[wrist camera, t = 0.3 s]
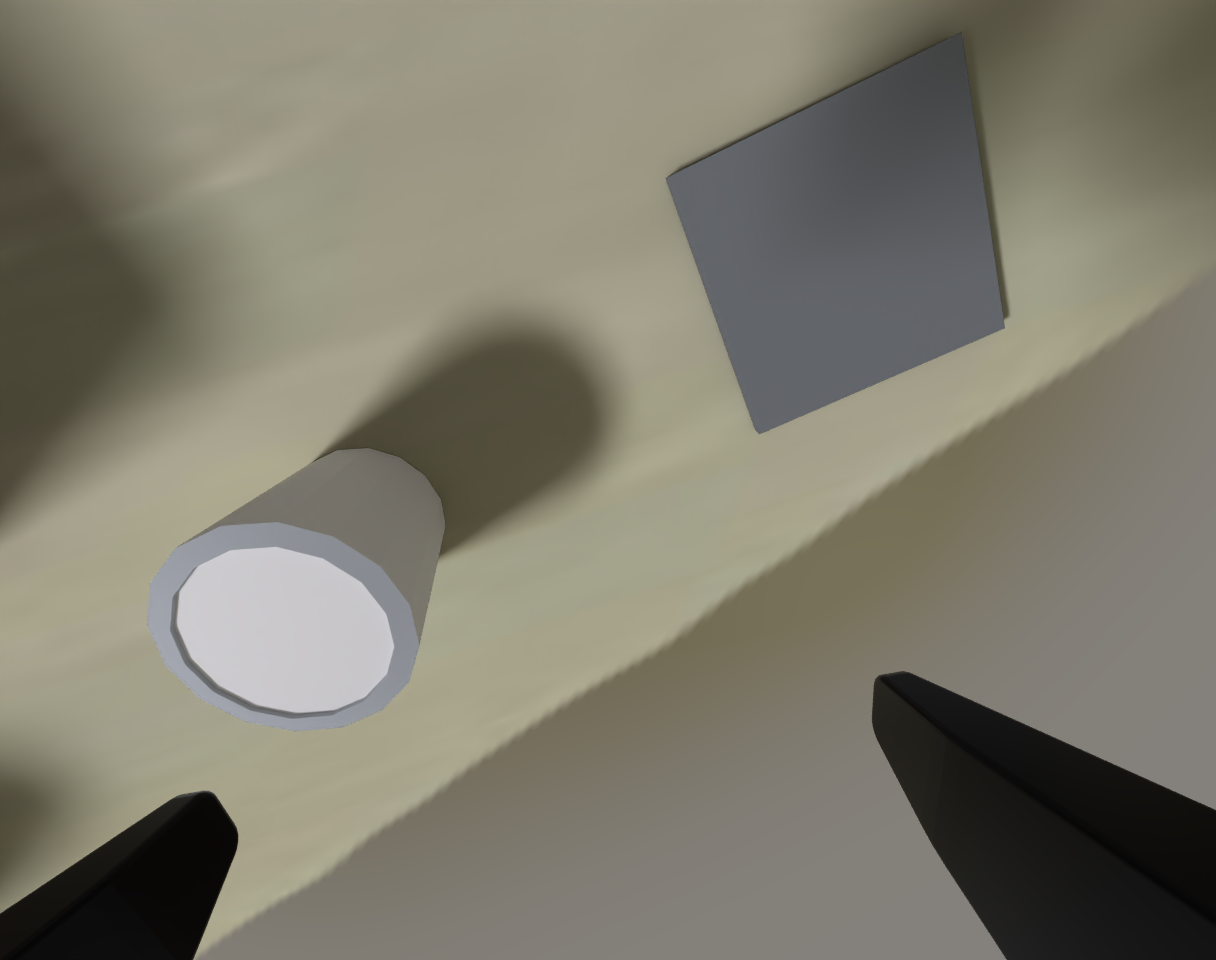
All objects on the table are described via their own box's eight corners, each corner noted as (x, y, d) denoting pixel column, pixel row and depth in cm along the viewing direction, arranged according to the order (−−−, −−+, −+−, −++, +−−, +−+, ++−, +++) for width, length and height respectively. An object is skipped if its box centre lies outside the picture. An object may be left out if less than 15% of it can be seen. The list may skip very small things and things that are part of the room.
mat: (665, 178, 17) (668, 176, 17) (950, 37, 17) (962, 31, 16) (755, 429, 21) (759, 434, 21) (994, 326, 20) (1004, 327, 20)
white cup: (493, 486, 21) (460, 595, 15) (417, 619, 23) (360, 764, 17) (311, 396, 19) (185, 476, 13) (247, 548, 22) (112, 681, 15)
